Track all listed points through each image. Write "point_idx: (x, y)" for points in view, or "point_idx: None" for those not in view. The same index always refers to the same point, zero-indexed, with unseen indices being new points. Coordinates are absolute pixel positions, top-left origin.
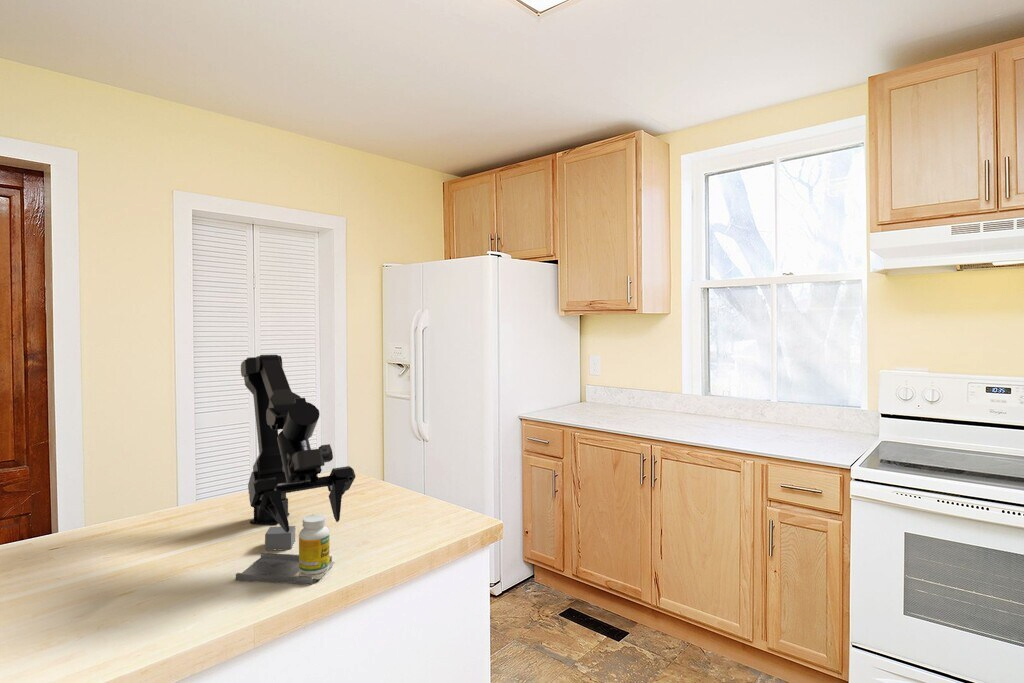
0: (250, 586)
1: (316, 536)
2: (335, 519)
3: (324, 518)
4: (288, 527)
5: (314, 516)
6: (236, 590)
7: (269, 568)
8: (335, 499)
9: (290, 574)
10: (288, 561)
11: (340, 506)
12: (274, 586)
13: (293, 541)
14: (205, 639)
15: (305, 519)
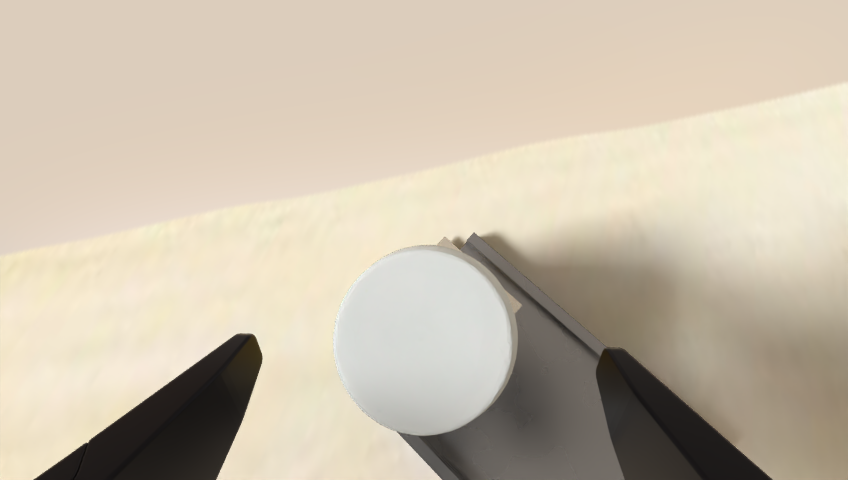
0: (661, 354)
1: (442, 246)
2: (253, 379)
3: (359, 276)
4: (616, 355)
5: (406, 377)
6: (711, 352)
7: (580, 453)
8: (110, 478)
9: (521, 339)
10: (495, 475)
11: (144, 401)
12: (584, 301)
13: None
14: (807, 98)
15: (492, 350)
